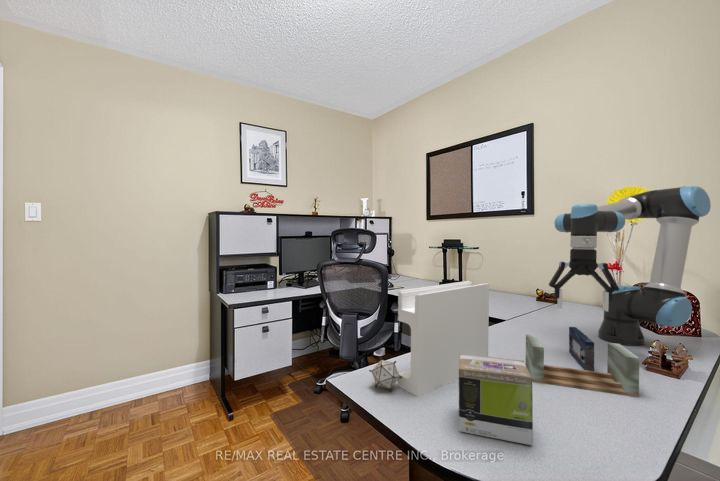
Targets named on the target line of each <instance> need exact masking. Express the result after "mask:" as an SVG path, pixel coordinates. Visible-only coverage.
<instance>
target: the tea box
mask: <svg viewBox="0 0 720 481" xmlns="http://www.w3.org/2000/svg"><path fill="white" fill-rule="evenodd" d="M533 408H534V405H533V382H532V377H531V375H530V373H529V371H528V369H527V367H526V362H525V360H520V359H510V358H501V357H492V356H488V357H485V356H476V355H466V354H460V357H459V379H458V430H459V432H461V433H467V434H472V435H476V436H483V437H487V438H493V439H497V440H503V441H507V442H512V443H518V444H523V445H527V446H534V445H533V440H534V438H533V437H534V434H533V433H534V431H533V427H534V422H533V419H534V418H533V417H534V416H533Z"/></svg>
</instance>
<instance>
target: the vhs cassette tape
mask: <svg viewBox="0 0 720 481" xmlns="http://www.w3.org/2000/svg"><path fill="white" fill-rule="evenodd" d="M568 328H569V329H568V332H569V334H568V349H569V350H568V352H569V354H570V356H572V358H574V360H575V361H576V362H577V363H578V365H579V366H580V367H581V368H582V370H587V371H595V342H594V341H593V340H592V339H591V338H590V337H588V336H587V335H586V334H584V332H582V331H581V330H580V329H578V328H577V327H576V326H569V327H568Z"/></svg>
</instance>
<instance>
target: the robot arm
mask: <svg viewBox="0 0 720 481" xmlns="http://www.w3.org/2000/svg"><path fill="white" fill-rule="evenodd" d="M711 204H712V203H711V200H710V196H709V194H708V192H706V190H705V189H704V188H702V186H701V187H700V186H697V185H691V186H689V185H688V186H686V185H685V186H684V185H683V186H680V187H679V186H678V187H671V188H663V189H654V190H649V191H644V192H641V193H637V194H633V195H631V196H626V197H623V198H622V199H620V200H619V201H617V202H612V203H608V204H604V205H599V206H598V205H597V204H594V203H582V204H574V205H573V206H571V212H570V213H562V214H558V215H556V217H555V219H554V223H553V224H554V228H555V229H556V231H558V232H560V233H570V239H569V240H570V243H569V244H570V245H569V246H570V250H569V262H564V261H563V260H562V261H559V265H558V268H557V269H556V270H555V272H554V275H553V276H552V278H551V280H550V281H549V283H548V286H549V287H550V288H553V289H554V298H556V299H557V305H556V306H557V307H558V309H562V308H563V289H562V287H563V286H564V285H565V284H566V283H568V281H569V280H570V279H572V278H573V277H574V276H575V275H578V276H591V277H592V278H594V279H595V281H597V282H598V284H599V285H600V286H601V287H602V288H603V289H604V290H602V310H603V320H602V322H601V324H600V326H599V328H598V331H597V332H598V333H597V334H598V335H597V336H598V338H599V339H602V340H604V341H606V342H608V343H616V344H620V345H622V346H624V345H625V346H631V347H632V346H635V347H637V346H638V347H639V346H644V345H645V336H644V334H643V331H642V328H641V326H640V321H642V322H647V323H651V324H654V325H658V326H663V327H669V328H678V327H681V326H683V325H684V324H686V323H687V322H688V320H689V319H690V317H691V314H692V311H693V306H692V302H691V300H690V299H688V298H687V297H686V292H685V291H684V290H683V289H682V282H683V276H684V271H685V265H686V259H687V255H688V250H689V245H690V238H691V234H692V233H691V232H692V228H693V227H694V226H696V225H697V224H699V221H700V218H703V217H705V216H707V215H708V214H709V213H710V211H711V206H712V205H711ZM634 219H635V220H636V219H656V222H658V224H659V225H660V227H659V230H658V231H659V232H658V236H657V241H656V247H655V251H654V252H655V253H654V258H653V263H652V269H651V273H650V279H649V283H647V284H645V285H644V286H643V288H642V290H641V287H640V286H637V285H635V286H634V285H632V286H631V285H618V284H617V282H616V281H615V279H614V277H613V275H612V274H611V272H610V270H609V265H608V263H606V262H601V263H598V262H597V259H598V258H597V254H598V253H597V252H598V251H597V249H596V248H597V242H598V240H597V239H598V237H597V236H598V233H614V232H619V231H621V230H622V229H623V228H624V227H625V224H626V220H627V221H629V220H630V221H631V220H634ZM568 267H569V268H570V269H569V271H568V272H567V273H566V274H565V275H564V276H563V277H562V278H561V279H560V277H561V276H562V275H563V272H564V270H565V269H566V268H568ZM597 268H599V269H600V270H601V273H603V275H604V277H605V279H606V280H607V281H605V280H604V279H603V278H602V277H601V276H600V275H599V274H598V273H597V271H596V270H597ZM559 279H560V280H559ZM558 280H559V281H558ZM607 282H608V283H607Z"/></svg>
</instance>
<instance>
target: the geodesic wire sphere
mask: <svg viewBox="0 0 720 481" xmlns="http://www.w3.org/2000/svg"><path fill="white" fill-rule="evenodd" d="M379 360H380V361H378V363H377V364H376V365H375V366H374V367H373V369H369V370H368V371H369V372H370V373H371V374H372V376H373V377H372V378H373V380H374V381H375V385H374V387H375V388H377V387H378V386H379V387H381V388H384V389H387V390H389V392H390V393H392V389H393V386H394V385H395V384H397V382H398V379H399V378H402V377H401V376H399V374H398V373H399V372H398V369H397V366H396V363H397V361H396V360H394V361H392V362H391V361H387V360H384V359H382V357H379Z"/></svg>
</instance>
